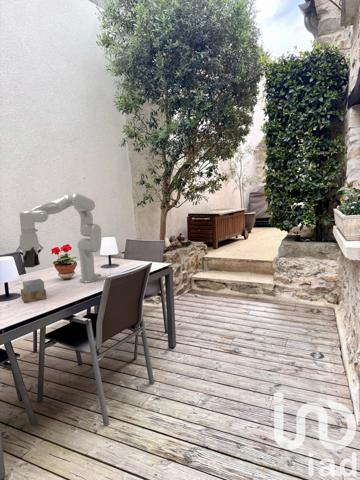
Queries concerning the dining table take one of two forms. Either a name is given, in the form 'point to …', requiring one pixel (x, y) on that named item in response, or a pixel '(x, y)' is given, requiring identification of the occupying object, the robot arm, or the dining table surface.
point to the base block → (33, 296)
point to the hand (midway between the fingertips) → (31, 261)
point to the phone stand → (30, 259)
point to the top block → (33, 285)
